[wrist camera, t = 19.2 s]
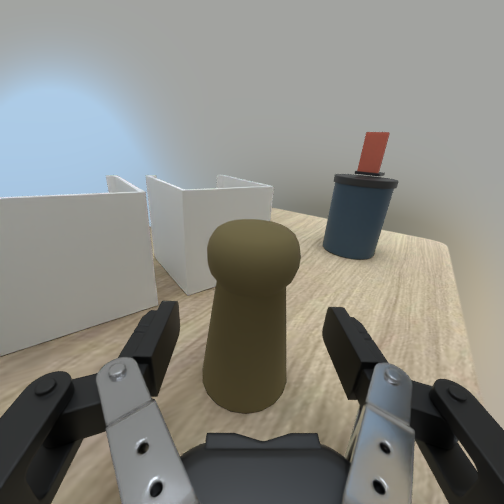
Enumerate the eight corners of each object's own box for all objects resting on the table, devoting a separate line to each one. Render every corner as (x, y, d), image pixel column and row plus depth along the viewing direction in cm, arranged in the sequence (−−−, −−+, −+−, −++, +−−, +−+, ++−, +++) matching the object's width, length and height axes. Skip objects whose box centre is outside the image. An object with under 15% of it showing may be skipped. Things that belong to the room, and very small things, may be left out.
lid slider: (379, 176, 35) (391, 132, 33) (354, 173, 37) (364, 131, 34) (384, 175, 38) (395, 135, 36) (361, 172, 40) (370, 134, 37)
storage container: (0, 356, 16) (-77, 202, 12) (16, 285, 24) (-28, 176, 20) (265, 270, 31) (273, 186, 27) (222, 243, 39) (223, 174, 34)
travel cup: (368, 265, 35) (393, 182, 30) (312, 248, 40) (326, 174, 35) (380, 249, 41) (402, 179, 37) (331, 236, 46) (345, 172, 41)
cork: (234, 435, 13) (245, 256, 8) (187, 361, 17) (178, 216, 13) (304, 378, 16) (337, 231, 12) (251, 329, 21) (261, 206, 16)
